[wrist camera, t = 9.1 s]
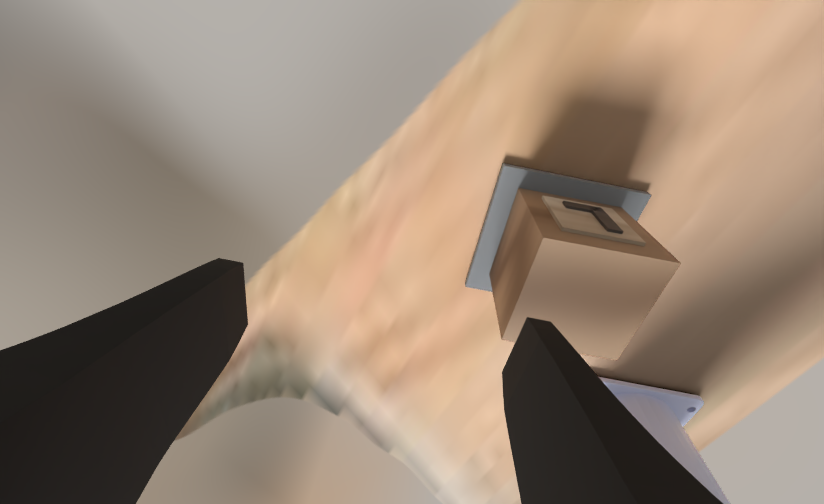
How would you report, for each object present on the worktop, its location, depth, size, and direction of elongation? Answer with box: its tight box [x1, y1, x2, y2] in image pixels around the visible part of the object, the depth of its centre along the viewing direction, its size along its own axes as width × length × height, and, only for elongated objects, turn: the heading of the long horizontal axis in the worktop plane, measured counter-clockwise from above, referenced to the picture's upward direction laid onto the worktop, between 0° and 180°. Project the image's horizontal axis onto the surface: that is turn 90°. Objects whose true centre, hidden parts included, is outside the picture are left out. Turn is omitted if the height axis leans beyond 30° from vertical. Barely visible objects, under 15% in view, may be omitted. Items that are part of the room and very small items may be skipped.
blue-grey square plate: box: [465, 163, 651, 292], centre depth 19 cm, size 7×7×1 cm
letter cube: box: [489, 188, 681, 361], centre depth 16 cm, size 5×5×5 cm
